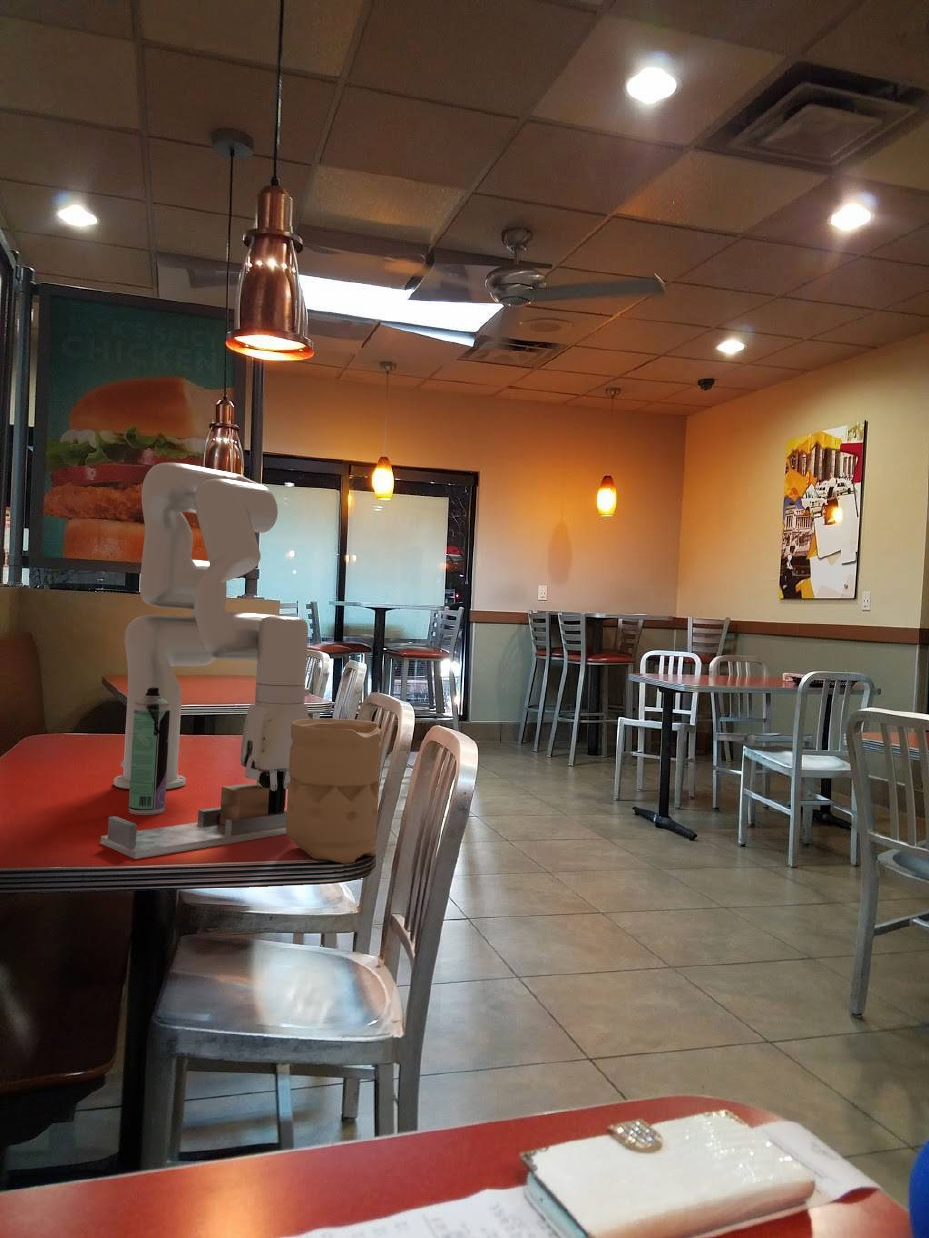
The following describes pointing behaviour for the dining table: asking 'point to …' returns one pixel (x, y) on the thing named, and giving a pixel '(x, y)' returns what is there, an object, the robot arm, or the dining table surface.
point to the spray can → (149, 754)
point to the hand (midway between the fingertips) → (273, 814)
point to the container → (334, 788)
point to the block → (243, 801)
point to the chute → (191, 833)
